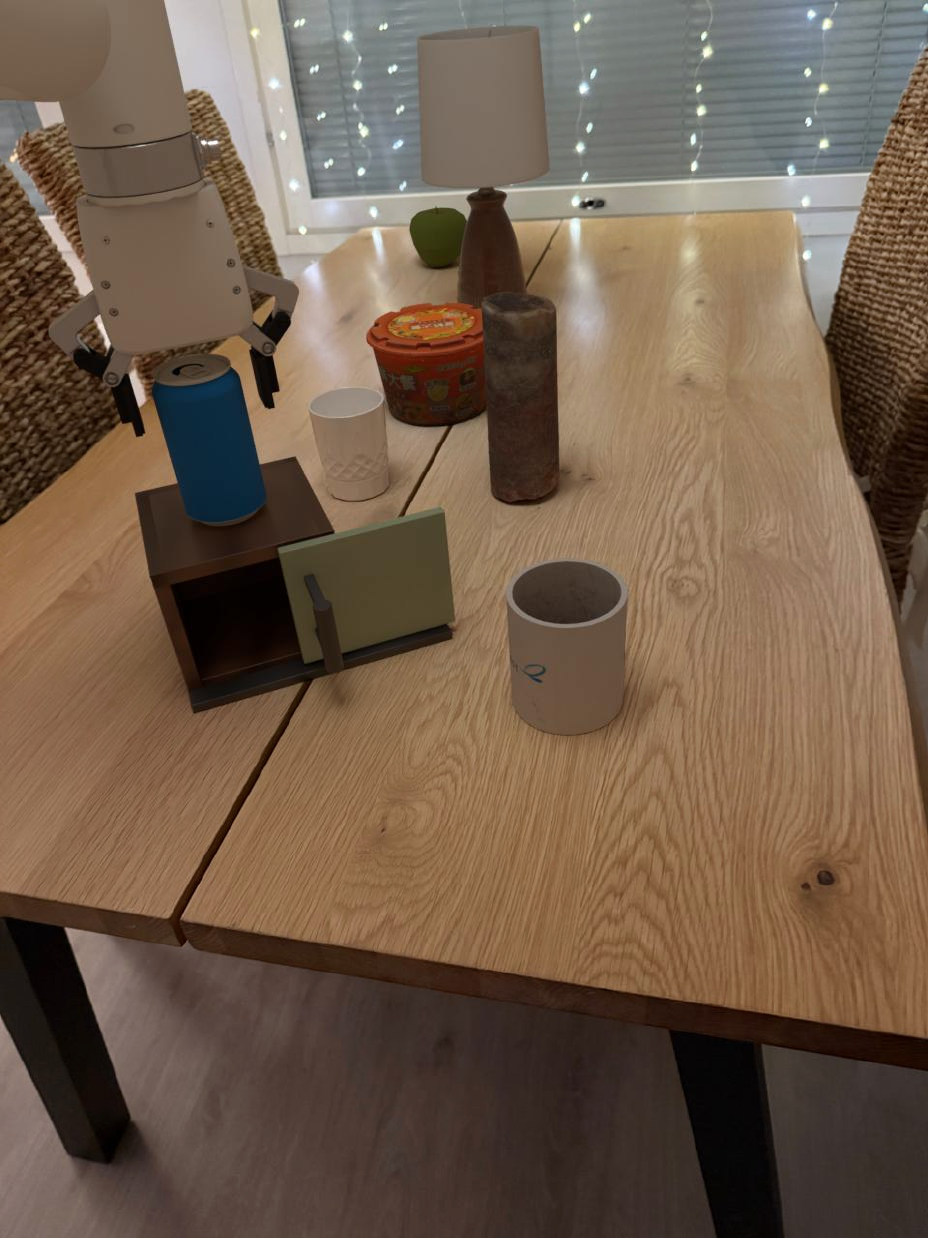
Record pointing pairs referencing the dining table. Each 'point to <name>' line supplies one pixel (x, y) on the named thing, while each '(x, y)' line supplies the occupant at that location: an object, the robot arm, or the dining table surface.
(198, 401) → the beverage can
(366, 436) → the white cup
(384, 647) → the cabinet
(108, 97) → the robot arm
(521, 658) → the mug
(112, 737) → the dining table surface
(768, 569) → the dining table surface
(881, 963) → the dining table surface
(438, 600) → the door
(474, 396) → the food container
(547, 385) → the candle
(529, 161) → the lamp
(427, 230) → the apple
